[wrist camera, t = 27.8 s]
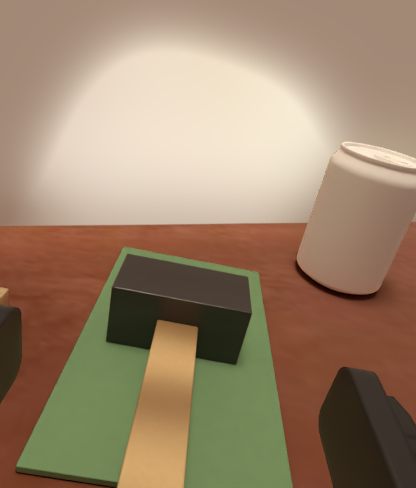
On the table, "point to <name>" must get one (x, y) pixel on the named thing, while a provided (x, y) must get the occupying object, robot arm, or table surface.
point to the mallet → (172, 353)
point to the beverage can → (359, 218)
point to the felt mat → (126, 397)
